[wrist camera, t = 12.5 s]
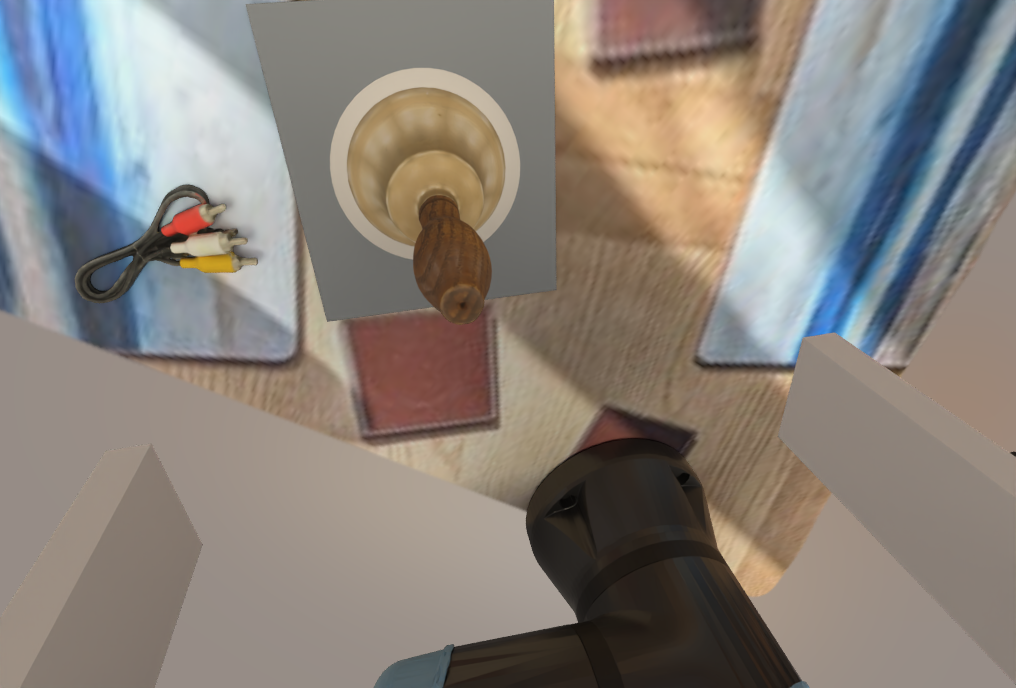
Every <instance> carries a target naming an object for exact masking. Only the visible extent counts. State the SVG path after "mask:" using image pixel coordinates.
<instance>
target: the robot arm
mask: <svg viewBox="0 0 1016 688" xmlns="http://www.w3.org/2000/svg"><path fill="white" fill-rule="evenodd" d="M778 437H779V438H780V439H781V440H782V441H783V442H784V443H785V444H786V445H787V446H788V447H789V448H790V449H791V451H792V452H793V453H794V454H795V455H796V456H797V457H798V458H799V459H800V460H801V461H802V462H803V463H804V464H805V465H806V466H807V467H808V468H809V469H810V470H811V471H812V472H813V474H814V475H815V476H816V477H817V478H818V479H819V480H820V481H821V482H822V483H823V484H824V485H825V486H826V487H827V488H828V489H829V490H830V491H831V492H832V493H833V494H834V495H835V496H836V498H837V499H838V500H839V501H840V502H841V503H842V504H843V505H844V506H845V507H846V508H847V509H848V510H849V511H850V512H851V513H852V514H853V515H854V516H855V517H856V518H857V519H858V521H859V522H860V523H861V524H862V525H863V526H864V527H865V528H866V529H867V530H868V531H869V532H870V533H871V534H872V535H873V536H874V537H875V538H876V539H877V540H878V541H879V542H880V544H882V546H883V547H884V548H885V549H886V550H887V551H888V552H889V553H890V554H891V555H892V556H893V557H894V558H895V559H896V560H897V561H898V562H899V563H900V564H901V565H902V566H903V567H904V569H905V570H906V571H907V572H908V573H909V574H910V575H911V576H912V577H913V578H914V579H915V580H916V581H917V582H918V583H919V584H920V585H921V586H922V587H923V588H924V589H925V590H926V592H927V593H928V594H929V595H931V597H932V598H933V599H934V600H935V601H936V602H937V603H938V604H939V605H940V606H941V607H942V608H943V609H944V610H945V611H946V612H947V614H949V616H950V617H951V618H952V619H953V620H954V621H955V622H956V623H957V624H958V625H959V626H960V627H961V628H962V629H963V630H964V631H965V632H966V633H967V634H968V635H969V637H971V638H972V640H973V641H974V642H975V643H976V644H977V645H978V646H979V647H980V648H981V649H982V650H983V651H984V652H985V653H986V654H987V655H988V656H989V657H990V658H991V659H992V661H993V662H994V663H995V664H996V665H997V666H998V667H999V668H1000V669H1001V670H1002V671H1003V672H1004V673H1005V674H1006V675H1007V676H1008V677H1009V678H1010V679H1011V680H1012V681H1013V682H1014V684H1015V685H1016V452H1011V453H1009V452H1008V451H1006V450H1005V449H1003V448H1002V447H1001V446H999V445H997V444H996V443H995V442H993V441H992V440H990V439H989V438H987V437H985V436H984V435H983V434H982V433H980V432H979V431H977V430H976V429H974V428H972V427H971V426H970V425H968V424H967V423H965V422H964V421H963V420H961V419H960V418H958V417H957V416H955V415H954V414H952V413H951V412H950V411H948V410H947V409H945V408H944V407H942V406H941V405H939V404H938V403H936V402H935V401H934V400H932V399H931V398H929V397H928V396H926V395H925V394H923V393H922V392H920V391H919V390H918V389H916V388H914V387H913V386H912V385H910V384H909V383H907V382H906V381H904V380H903V379H902V378H900V377H899V376H897V375H896V374H894V373H893V372H891V371H890V370H888V369H887V368H886V367H884V366H883V365H881V364H880V363H878V362H877V361H875V360H874V359H872V358H871V357H869V356H868V355H867V354H865V353H864V352H862V351H861V350H859V349H858V348H856V347H855V346H853V345H852V344H851V343H849V342H848V341H846V340H845V339H843V338H842V337H840V336H839V335H837V334H836V333H829V334H823V335H817V336H811V337H805V338H803V339H802V343H801V347H800V351H799V355H798V359H797V363H796V367H795V371H794V375H793V379H792V383H791V387H790V391H789V395H788V398H787V402H786V406H785V410H784V414H783V418H782V422H781V426H780V430H779V434H778ZM526 529H527V534H528V537H529V540H530V544H531V547H532V551H533V554H534V556H535V558H536V560H537V562H538V563H539V565H540V566H541V568H542V569H543V571H544V572H545V573H546V575H547V576H548V577H549V579H550V580H551V581H552V583H553V584H554V585H555V587H556V588H557V589H558V590H559V592H560V593H561V595H562V596H563V597H564V599H565V600H566V601H567V603H568V604H569V605H570V607H571V608H572V609H573V611H574V612H575V614H576V617H577V620H578V623H575V624H571V625H563V626H558V627H553V628H549V629H543V630H538V631H533V632H528V633H523V634H518V635H512V636H508V637H502V638H497V639H492V640H487V641H482V642H477V643H472V644H467V645H462V646H457V647H454V645H453V644H452V645H447V646H446V647H445V648H444V649H443V650H440V651H436V652H432V653H428V654H424V655H420V656H416V657H412V658H408V659H404V660H401V661H398V662H396V663H394V664H392V665H391V666H390V667H388V668H387V669H386V670H385V671H384V672H383V673H382V675H381V676H380V677H379V679H378V680H377V682H376V684H375V686H374V688H809V686H808V684H807V683H806V682H804V681H802V680H801V678H800V677H799V675H798V673H797V672H796V670H795V669H794V667H793V666H792V664H791V663H790V661H789V660H788V658H787V656H786V655H785V653H784V652H783V650H782V649H781V647H780V646H779V644H778V642H777V641H776V639H775V638H774V636H773V635H772V633H771V632H770V630H769V628H768V627H767V625H766V624H765V622H764V621H763V619H762V618H761V616H760V614H759V613H758V611H757V610H756V608H755V607H754V605H753V604H752V602H751V600H750V599H749V597H748V596H747V594H746V593H745V591H744V590H743V588H742V586H741V585H740V583H739V582H738V580H737V579H736V577H735V576H734V574H733V573H732V571H731V569H730V568H729V566H728V565H727V563H726V562H725V560H724V558H723V557H722V555H721V553H720V552H719V550H718V548H717V544H716V540H715V535H714V531H713V527H712V523H711V518H710V514H709V510H708V506H707V501H706V497H705V493H704V489H703V487H702V485H701V482H700V480H699V478H698V477H697V475H696V474H695V472H694V471H693V469H692V468H691V466H690V465H689V463H688V462H687V461H686V459H685V458H684V457H683V456H682V455H681V454H680V453H679V452H678V451H676V450H675V449H673V448H671V447H670V446H668V445H665V444H663V443H660V442H656V441H651V440H644V439H627V440H618V441H613V442H608V443H605V444H601V445H598V446H595V447H592V448H590V449H587V450H585V451H583V452H581V453H579V454H577V455H575V456H574V457H572V458H570V459H569V460H567V461H566V462H564V463H563V464H561V465H560V466H559V467H557V468H556V469H555V470H554V471H553V472H552V473H551V474H550V475H549V476H548V477H547V478H546V479H545V480H544V481H543V482H542V483H541V485H540V486H539V487H538V489H537V490H536V492H535V493H534V495H533V497H532V499H531V501H530V504H529V507H528V510H527V515H526ZM202 545H203V544H202V542H201V541H200V539H199V537H198V535H197V533H196V531H195V529H194V527H193V525H192V523H191V521H190V519H189V517H188V515H187V513H186V511H185V509H184V507H183V505H182V503H181V501H180V499H179V497H178V495H177V493H176V491H175V489H174V487H173V485H172V483H171V481H170V480H169V477H168V475H167V474H166V471H165V469H164V467H163V465H162V463H161V461H160V460H159V458H158V456H157V454H156V452H155V450H154V448H153V446H152V444H145V445H138V446H132V447H127V448H120V449H114V450H107V451H105V453H104V454H103V456H102V458H101V459H100V461H99V462H98V464H97V466H96V467H95V469H94V470H93V472H92V474H91V475H90V477H89V478H88V480H87V481H86V483H85V485H84V486H83V488H82V489H81V491H80V493H79V494H78V496H77V497H76V499H75V500H74V502H73V503H72V505H71V507H70V508H69V510H68V511H67V513H66V514H65V516H64V518H63V519H62V521H61V522H60V524H59V525H58V527H57V529H56V530H55V532H54V533H53V535H52V536H51V538H50V540H49V541H48V543H47V544H46V546H45V548H44V549H43V551H42V552H41V554H40V555H39V557H38V559H37V560H36V562H35V563H34V565H33V566H32V568H31V570H30V571H29V573H28V574H27V576H26V578H25V579H24V581H23V582H22V584H21V585H20V587H19V589H18V590H17V592H16V593H15V595H14V596H13V598H12V600H11V601H10V603H9V604H8V606H7V607H6V609H5V611H4V612H3V614H2V615H1V617H0V688H155V685H156V682H157V679H158V676H159V673H160V670H161V667H162V664H163V661H164V658H165V655H166V652H167V649H168V646H169V643H170V640H171V637H172V634H173V631H174V629H175V625H176V623H177V619H178V617H179V613H180V611H181V608H182V605H183V602H184V598H185V596H186V592H187V590H188V587H189V584H190V581H191V578H192V575H193V572H194V569H195V566H196V563H197V560H198V557H199V554H200V551H201V548H202Z"/></svg>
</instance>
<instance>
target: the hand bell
mask: <svg viewBox="0 0 1016 688" xmlns="http://www.w3.org/2000/svg"><path fill="white" fill-rule="evenodd" d="M505 169H506V166H505V158H504V152H503V148H502V145H501V142H500V139H499V137H498V135H497V133H496V131H495V129H494V127H493V125H492V124H491V122H490V121H489V120H488V118H487V117H486V116H485V115H484V114H483V113H482V112H481V111H480V110H479V109H478V108H477V107H476V106H475V105H473V104H472V103H471V102H469V101H468V100H466V99H464V98H462V97H461V96H459V95H457V94H454V93H452V92H449V91H445V90H442V89H437V88H426V87H419V88H411V89H406V90H402V91H399V92H396V93H394V94H392V95H390V96H388V97H386V98H384V99H383V100H381V101H380V102H378V103H377V104H375V105H374V106H373V107H372V108H371V109H370V110H369V111H368V112H367V113H366V114H365V115H364V117H363V118H362V119H361V121H360V122H359V124H358V125H357V127H356V129H355V131H354V133H353V136H352V138H351V141H350V145H349V150H348V156H347V173H348V182H349V186H350V189H351V192H352V195H353V197H354V200H355V202H356V204H357V206H358V207H359V209H360V210H361V212H362V213H363V215H364V216H365V218H366V219H367V220H368V221H369V222H370V223H371V224H372V225H373V226H374V227H375V228H376V229H378V230H379V231H380V232H381V233H383V234H384V235H386V236H388V237H389V238H391V239H393V240H395V241H398V242H400V243H403V244H406V245H409V246H414V252H413V270H414V275H415V279H416V282H417V285H418V288H419V289H420V291H421V293H422V294H423V296H424V297H425V298H426V299H427V300H428V301H429V303H430V304H431V305H432V306H434V307H435V308H436V309H437V310H439V311H440V312H441V313H442V314H443V316H444V317H445V318H446V319H447V320H448V321H449V322H452V323H455V324H459V325H462V324H468V323H471V322H473V321H475V320H476V319H477V318H478V316H479V315H480V314H481V312H482V309H483V307H484V300H485V298H486V296H487V293H488V291H489V288H490V283H491V278H492V266H491V261H490V256H489V253H488V251H487V248H486V246H485V244H484V243H483V241H482V239H481V238H480V236H479V235H478V234H477V232H476V231H477V230H478V229H479V228H481V227H482V226H483V225H484V224H485V223H486V221H487V220H488V219H489V218H490V216H491V215H492V214H493V212H494V210H495V208H496V207H497V205H498V202H499V200H500V198H501V194H502V191H503V187H504V182H505Z"/></svg>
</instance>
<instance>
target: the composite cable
mask: <svg viewBox="0 0 1016 688" xmlns="http://www.w3.org/2000/svg"><path fill="white" fill-rule="evenodd" d="M181 197H190V198H195V199H197V200H199V201H200V202H201V204H199V205H197V206H195V207H192V208H190V209H187V210H185V211H183V212H181V213H178V214H176V215H175V216H174V218H173V221H172V222H171V223H170V224H167V225H165V226H163V227H162V228H161V231H160V232H158V231H157V230H158V225H159V222H160V220H161V218H162V216H163V214H164V213H165V211H166V209H167V207H168V205H169V204H170V203H171V202H172V201H174V200H177V199H179V198H181ZM225 210H226V205H225V204H221V205H219V206H216V207H213V206H211V205H210V203H209V199H208V197H207V195H206V193H205V192H204V191H203V190H201V189H199V188H197V187H195V186H192V185H182V186H179V187H178V188H176V189H174V190H172V191H171V192H169V193H168V194H167V195H166V196H165V198H164V199H163V201H162V203H161V205H160V207H159V209H158V212H157V213H156V216H155V218H154V220H153V222H152V224H151V226H150V228H149V229H148V230H147V232H146V233H145V234H144V235H143V236H142V237H141V238H140V239H139V240H137V241H135V242H134V243H132V244H130V245H128V246H125V247H122V248H120V249H117V250H115V251H112V252H110V253H108V254H105V255H102V256H100V257H98V258H95V259H93V260H91V261H90V262H88V263H87V264H85V265H84V266H82V267H81V268H80V269H79V270H78V272H77V274H76V276H75V285H76V289H77V291H78V292H79V294H80V295H81V296H82V297H83V298H84V299H86V300H88V301H92V302H94V303H106V302H110V301H113V300H115V299H117V298H119V297H120V296H122V295H123V294H124V293H125V292H127V291H128V290H129V288H130V287H131V286H132V285H133V283H134V281H135V279H136V278H137V277H138V275H139V273H140V272H141V270H142V269H143V267H144V266H145V265H146V264H147V263H148V262H149V261H154V260H157V261H162V262H164V263H167V264H170V265H174V266H181V267H182V268H197V269H199V270H200V271H202V272H205V273H220V272H231V273H233V272H236V271H238V270H240V269H241V267H242V266H244V265H257V263H258V260H257V258H242V257H239V256H238V255H236V254H235V253H234V252H230V251H232V250H233V248H234V245H242V244H247V242H248V239H247V238H235V239H233V238H232V236H235V235H236V234H237V233H238V230H237V229H232V230H225V231H224V230H222V229H216V230H214V229H211V228H206V227H208V226H210V225H212V224H213V223H214V221H215V218H216V215H217V213H222V212H223V211H225ZM189 255H193V256H196V257H187V256H189ZM128 256H133V261H132V262H131V263H130V264H129V265H128V266H127V268H126V269H125V271H124V272H123V273H122V275H121V276H120V278H119V279H118V281H117V282H116V283H115V284H114V285H113V287H112V288H111V289H110V290H108V291H99V290H97V289H95V288H94V287H93V286H92V284H91V282H90V277H91V274H92V273H93V272H94V271H95V270H97V269H99V268H100V267H103V266H105V265H107V264H110V263H112V262H116V261H118V260H121V259H123V258H125V257H128ZM170 258H172V259H170ZM176 259H181V260H180V261H176Z"/></svg>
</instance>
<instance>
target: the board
mask: <svg viewBox="0 0 1016 688" xmlns="http://www.w3.org/2000/svg"><path fill="white" fill-rule="evenodd" d="M246 8H247V11H248V15H249V19H250V23H251V27H252V31H253V35H254V39H255V43H256V47H257V50H258V54H259V58H260V62H261V66H262V70H263V74H264V78H265V82H266V85H267V89H268V93H269V97H270V101H271V105H272V109H273V113H274V117H275V120H276V124H277V128H278V132H279V136H280V140H281V144H282V148H283V152H284V155H285V159H286V163H287V167H288V171H289V175H290V179H291V183H292V187H293V190H294V194H295V198H296V202H297V206H298V210H299V214H300V218H301V222H302V225H303V229H304V233H305V237H306V241H307V245H308V249H309V253H310V257H311V260H312V264H313V268H314V272H315V276H316V280H317V284H318V288H319V292H320V295H321V299H322V303H323V307H324V311H325V315H326V319H327V322H329V321H336V320H343V319H350V318H358V317H365V316H372V315H379V314H386V313H394V312H401V311H408V310H415V309H422V308H430V307H434V306H432V305H431V304H430V303H429V301H428V300H427V299H426V298H425V297H424V296H423V294H422V293H421V291H420V289H419V288H418V285H417V282H416V279H415V275H414V270H413V252H414V246H409V245H406V244H403V243H400V242H398V241H395V240H393V239H391V238H389V237H388V236H386V235H384V234H383V233H381V232H380V231H379V230H378V229H376V228H375V227H374V226H373V225H372V224H371V223H370V222H369V221H368V220H367V219H366V218H365V216H364V215H363V213H362V212H361V210H360V209H359V207H358V206H357V204H356V202H355V200H354V197H353V195H352V192H351V189H350V186H349V182H348V173H347V156H348V150H349V145H350V141H351V138H352V136H353V133H354V131H355V129H356V127H357V125H358V124H359V122H360V121H361V119H362V118H363V117H364V115H365V114H366V113H367V112H368V111H369V110H370V109H371V108H372V107H373V106H374V105H375V104H377V103H378V102H380V101H381V100H383V99H384V98H386V97H388V96H390V95H392V94H394V93H396V92H399V91H402V90H406V89H411V88H419V87H426V88H437V89H442V90H445V91H449V92H452V93H454V94H457V95H459V96H461V97H462V98H464V99H466V100H468V101H469V102H471V103H472V104H473V105H475V106H476V107H477V108H478V109H479V110H480V111H481V112H482V113H483V114H484V115H485V116H486V117H487V118H488V120H489V121H490V122H491V124H492V125H493V127H494V129H495V131H496V133H497V135H498V137H499V139H500V142H501V145H502V148H503V152H504V158H505V166H506V169H505V182H504V187H503V191H502V194H501V198H500V200H499V202H498V205H497V207H496V208H495V210H494V212H493V214H492V215H491V216H490V218H489V219H488V220H487V221H486V223H485V224H484V225H483V226H482V227H481V228H479V229H478V230H477V231H476V232H477V234H478V235H479V236H480V238H481V239H482V241H483V243H484V244H485V246H486V248H487V251H488V253H489V256H490V261H491V266H492V278H491V283H490V288H489V291H488V293H487V296H486V298H485V300H487V299H494V298H502V297H509V296H516V295H523V294H530V293H538V292H545V291H552V290H556V187H555V71H554V0H311V1H294V2H277V3H260V4H246Z"/></svg>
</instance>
